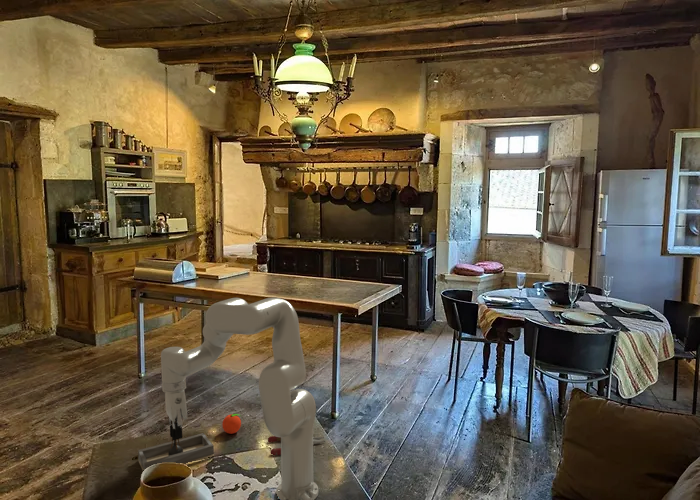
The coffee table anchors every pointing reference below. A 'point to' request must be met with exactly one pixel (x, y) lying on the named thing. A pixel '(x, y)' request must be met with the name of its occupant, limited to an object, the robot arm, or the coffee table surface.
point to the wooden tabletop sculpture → (175, 447)
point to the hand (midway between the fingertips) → (176, 437)
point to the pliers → (273, 438)
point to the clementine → (231, 423)
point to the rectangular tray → (192, 451)
